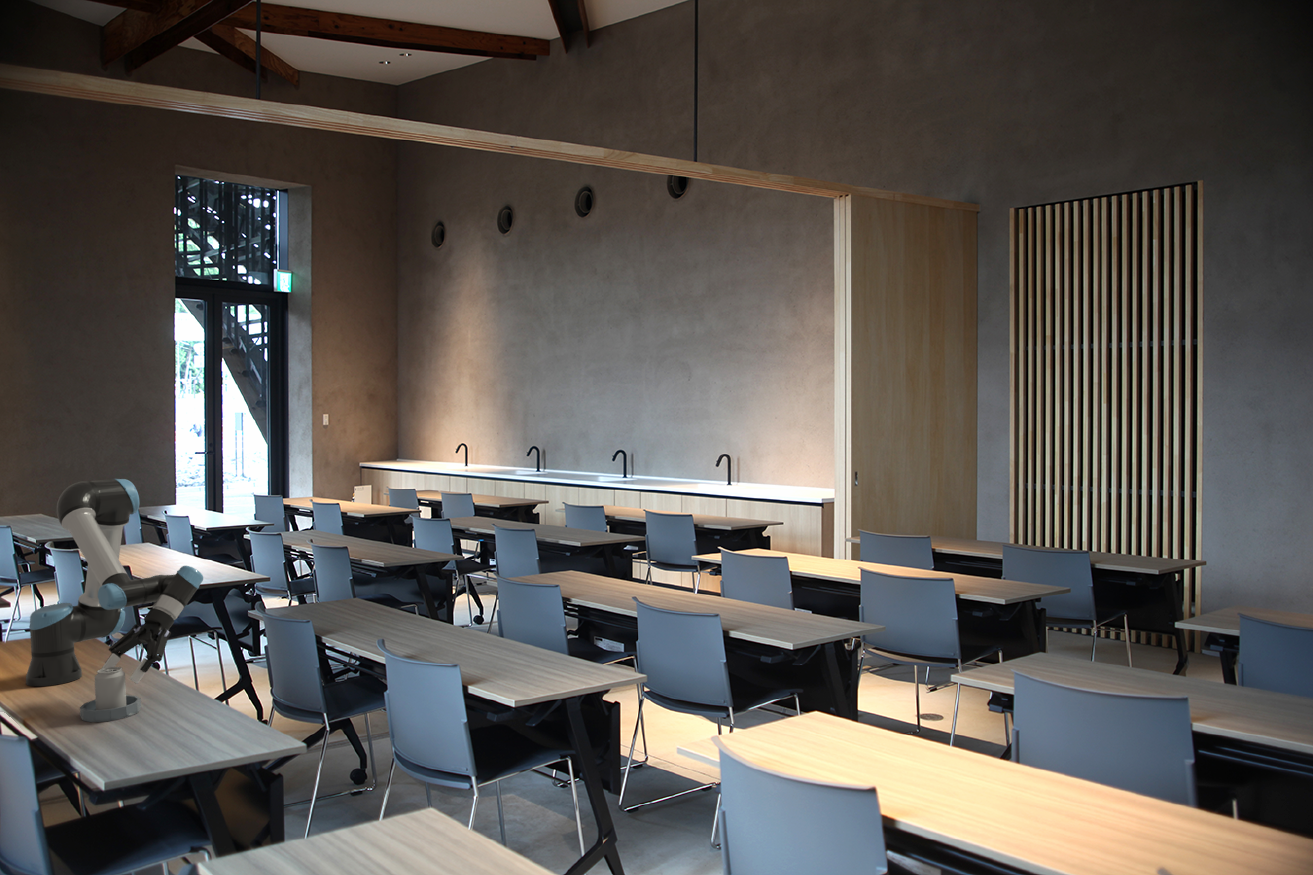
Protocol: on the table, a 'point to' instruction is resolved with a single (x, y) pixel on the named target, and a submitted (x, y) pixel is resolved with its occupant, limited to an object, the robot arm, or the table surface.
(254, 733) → the table surface
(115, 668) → the can
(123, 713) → the dish
